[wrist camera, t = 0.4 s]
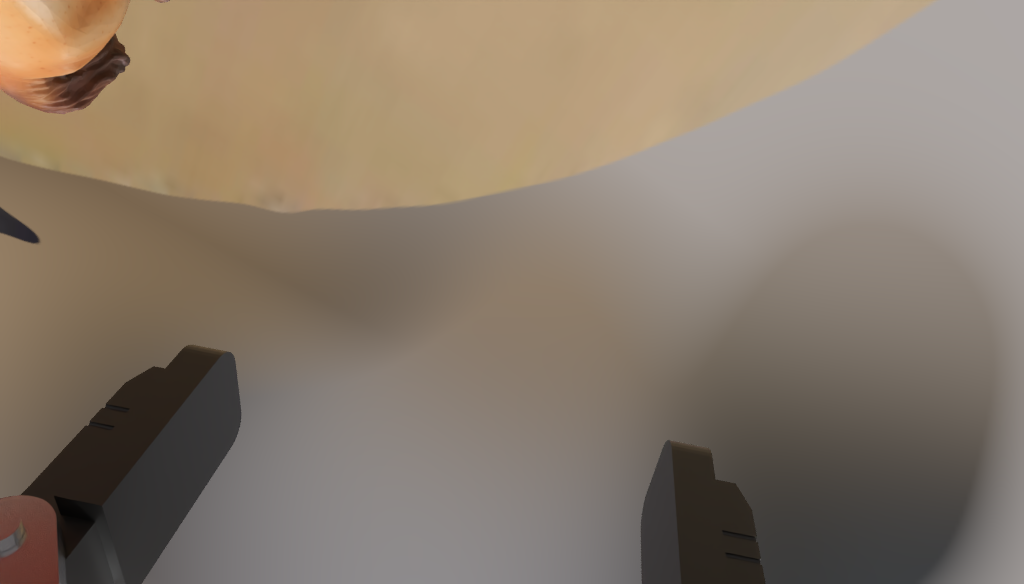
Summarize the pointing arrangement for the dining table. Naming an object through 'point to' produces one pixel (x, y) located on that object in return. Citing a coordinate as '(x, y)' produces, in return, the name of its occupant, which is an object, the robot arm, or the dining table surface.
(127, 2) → the horse figurine
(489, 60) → the dining table surface
